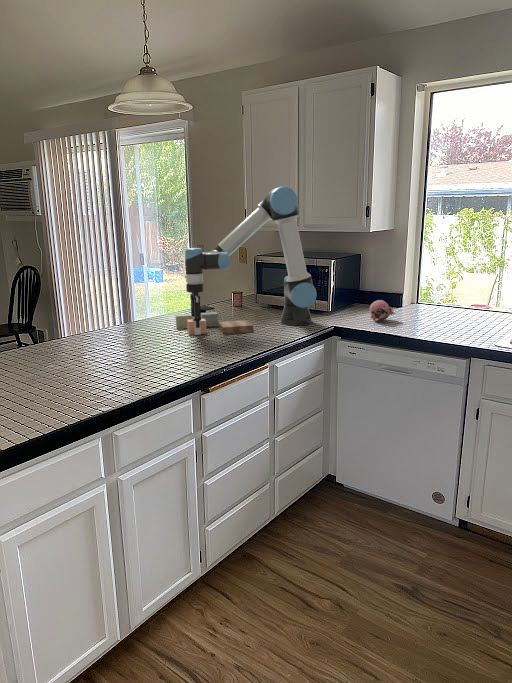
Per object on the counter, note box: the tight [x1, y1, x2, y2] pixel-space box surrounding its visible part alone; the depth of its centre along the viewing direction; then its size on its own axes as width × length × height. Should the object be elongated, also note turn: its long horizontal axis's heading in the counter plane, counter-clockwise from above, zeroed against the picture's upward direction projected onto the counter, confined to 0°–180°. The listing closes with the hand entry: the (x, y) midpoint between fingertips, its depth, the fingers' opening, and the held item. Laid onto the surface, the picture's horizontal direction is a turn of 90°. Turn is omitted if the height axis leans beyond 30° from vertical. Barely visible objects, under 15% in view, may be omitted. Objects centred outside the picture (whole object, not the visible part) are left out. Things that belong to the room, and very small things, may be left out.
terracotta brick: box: [186, 319, 207, 336], centre depth 239 cm, size 8×5×6 cm, turn 104°
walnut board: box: [217, 319, 254, 335], centre depth 243 cm, size 14×12×3 cm
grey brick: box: [201, 311, 219, 328], centre depth 254 cm, size 8×5×6 cm, turn 104°
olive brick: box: [174, 313, 193, 330], centre depth 251 cm, size 8×5×6 cm, turn 104°
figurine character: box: [200, 305, 215, 313], centre depth 266 cm, size 7×8×15 cm
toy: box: [368, 299, 396, 323], centre depth 254 cm, size 12×11×15 cm
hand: (196, 332), depth 240 cm, fingers open, 8 cm apart
